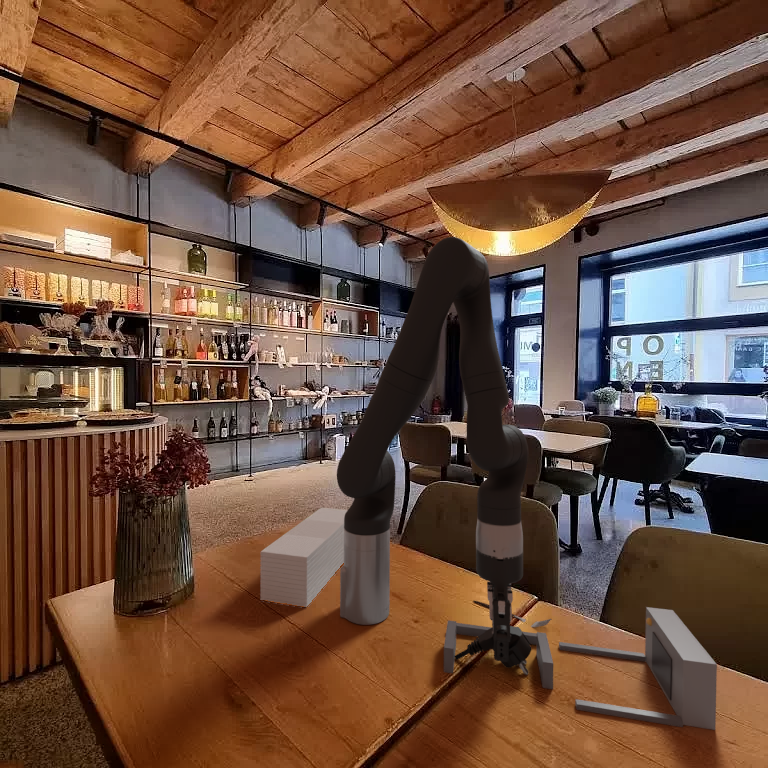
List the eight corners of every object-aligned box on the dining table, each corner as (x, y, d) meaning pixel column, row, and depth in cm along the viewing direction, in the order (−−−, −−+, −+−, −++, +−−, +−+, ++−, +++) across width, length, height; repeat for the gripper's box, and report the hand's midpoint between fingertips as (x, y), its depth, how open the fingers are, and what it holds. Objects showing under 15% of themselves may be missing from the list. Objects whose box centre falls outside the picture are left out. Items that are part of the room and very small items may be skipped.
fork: (476, 600, 93) (476, 591, 93) (551, 628, 83) (552, 618, 83) (470, 605, 91) (470, 596, 91) (547, 634, 81) (547, 623, 81)
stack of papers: (321, 545, 123) (321, 507, 122) (356, 549, 120) (357, 510, 120) (260, 602, 92) (260, 551, 91) (306, 609, 89) (307, 557, 89)
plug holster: (443, 672, 70) (443, 647, 70) (449, 629, 82) (449, 608, 82) (552, 689, 66) (553, 663, 66) (542, 642, 78) (542, 620, 78)
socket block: (576, 709, 62) (577, 647, 62) (558, 646, 77) (559, 595, 77) (717, 733, 58) (718, 666, 58) (670, 661, 73) (671, 608, 73)
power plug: (453, 643, 76) (512, 610, 74) (479, 682, 75) (538, 650, 73) (452, 664, 71) (515, 629, 68) (479, 706, 70) (544, 672, 68)
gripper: (476, 530, 80) (476, 618, 80) (475, 562, 66) (476, 668, 66) (518, 532, 78) (519, 622, 78) (527, 566, 64) (528, 675, 64)
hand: (499, 643), depth 72 cm, fingers open, 8 cm apart
